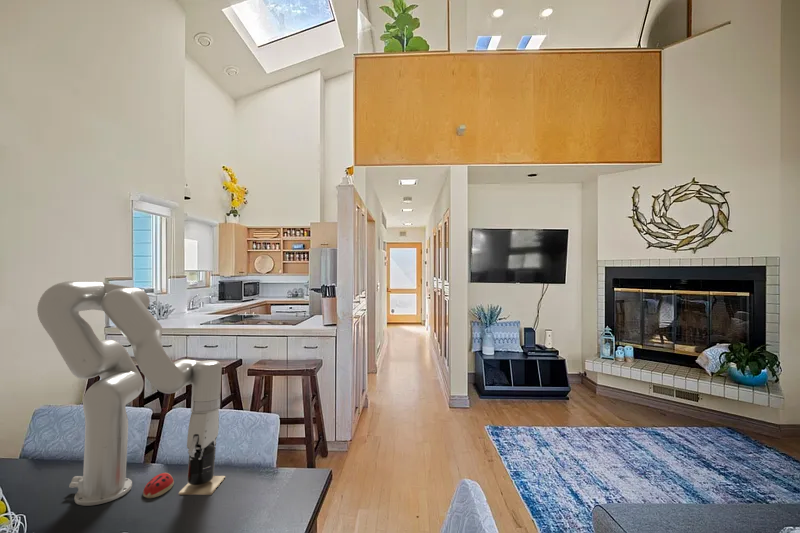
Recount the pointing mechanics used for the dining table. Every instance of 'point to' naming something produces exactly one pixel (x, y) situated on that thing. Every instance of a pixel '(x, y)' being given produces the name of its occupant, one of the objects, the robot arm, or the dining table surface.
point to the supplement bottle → (207, 467)
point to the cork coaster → (202, 487)
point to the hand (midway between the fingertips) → (203, 466)
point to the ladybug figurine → (158, 485)
